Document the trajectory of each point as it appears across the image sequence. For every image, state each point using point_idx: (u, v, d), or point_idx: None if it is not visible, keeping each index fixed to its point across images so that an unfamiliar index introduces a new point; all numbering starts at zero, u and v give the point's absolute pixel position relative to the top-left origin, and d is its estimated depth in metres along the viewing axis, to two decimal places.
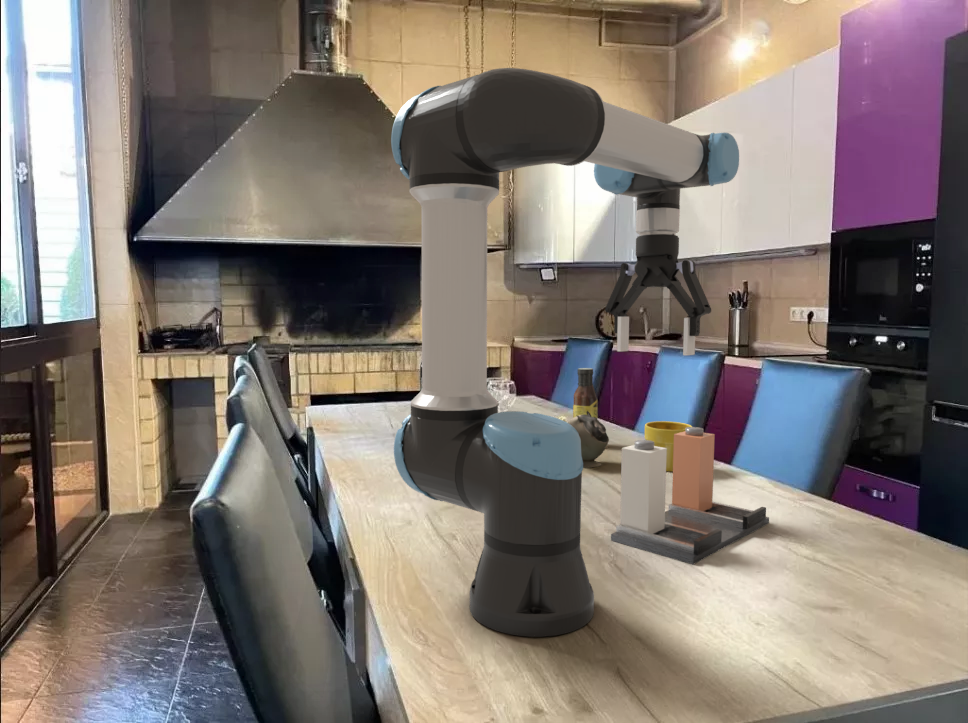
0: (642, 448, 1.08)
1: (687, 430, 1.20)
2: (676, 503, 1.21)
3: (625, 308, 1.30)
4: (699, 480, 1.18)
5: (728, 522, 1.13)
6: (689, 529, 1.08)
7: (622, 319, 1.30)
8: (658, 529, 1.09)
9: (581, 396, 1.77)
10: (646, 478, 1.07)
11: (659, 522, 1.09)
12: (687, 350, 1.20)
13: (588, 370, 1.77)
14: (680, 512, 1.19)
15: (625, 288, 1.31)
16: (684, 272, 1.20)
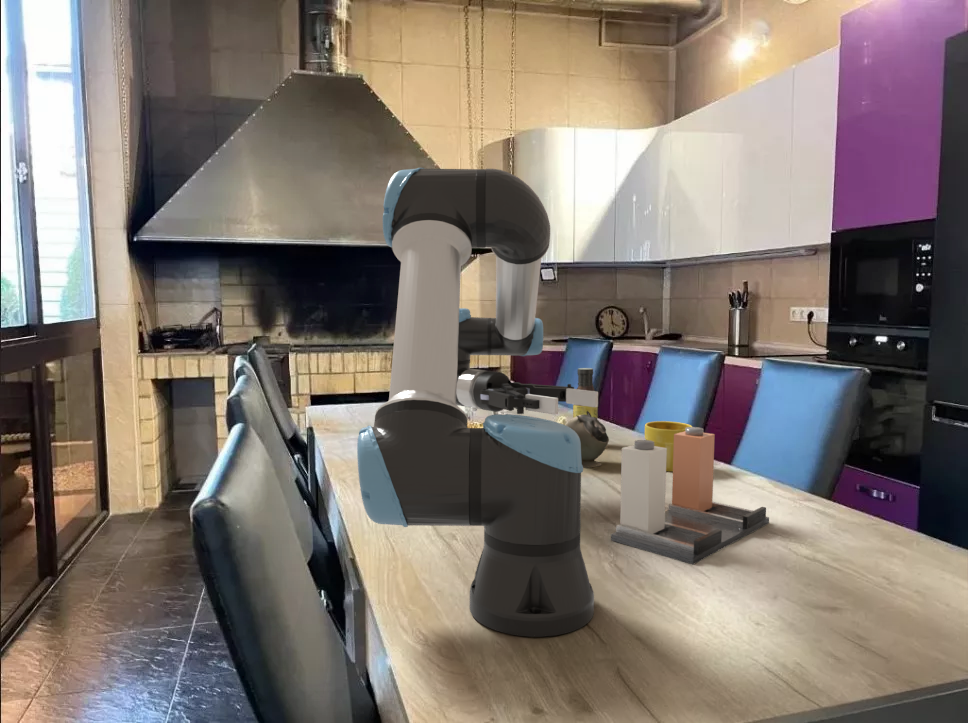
0: (642, 448, 1.08)
1: (687, 430, 1.20)
2: (676, 503, 1.21)
3: None
4: (699, 480, 1.18)
5: (728, 522, 1.13)
6: (689, 529, 1.08)
7: None
8: (658, 529, 1.09)
9: None
10: (646, 478, 1.07)
11: (659, 522, 1.09)
12: None
13: (588, 370, 1.77)
14: (680, 512, 1.19)
15: None
16: (534, 385, 1.33)
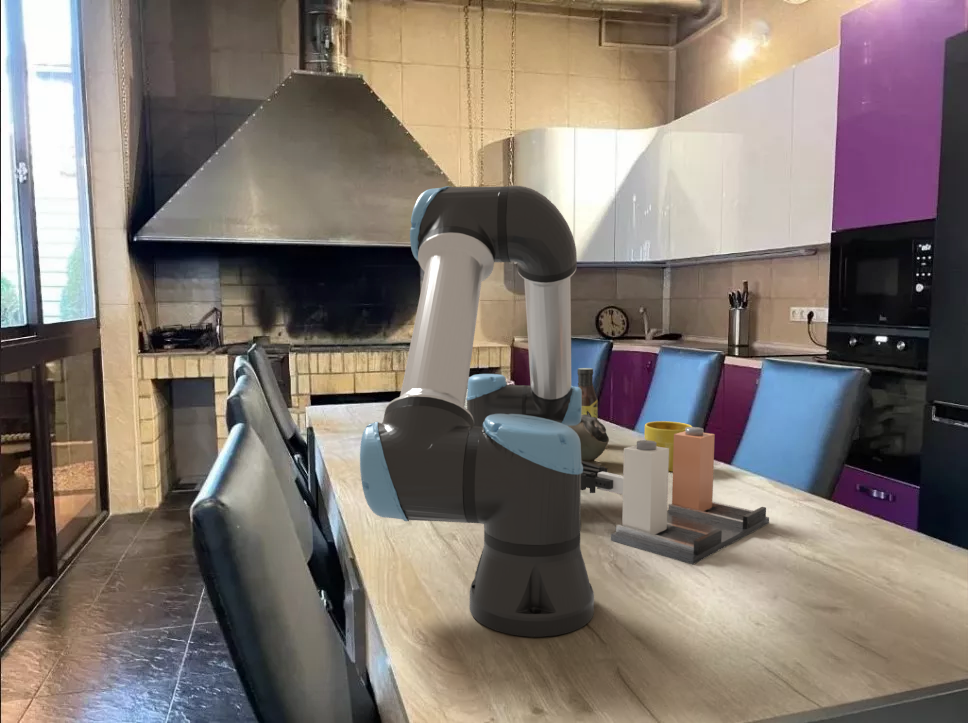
0: (644, 448, 1.08)
1: (687, 430, 1.20)
2: (676, 503, 1.21)
3: None
4: (699, 480, 1.18)
5: (728, 522, 1.13)
6: (689, 529, 1.08)
7: None
8: (660, 530, 1.09)
9: None
10: (648, 479, 1.06)
11: (661, 523, 1.09)
12: None
13: (588, 370, 1.77)
14: (680, 512, 1.19)
15: None
16: None
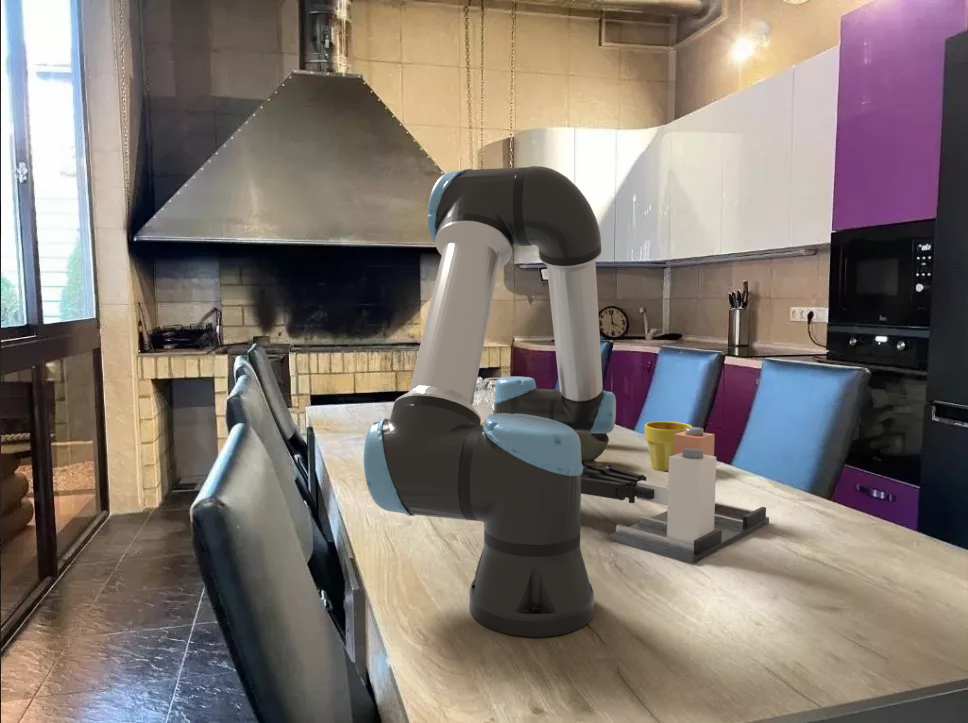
0: (691, 457, 1.02)
1: (687, 430, 1.20)
2: None
3: None
4: None
5: (728, 522, 1.13)
6: None
7: None
8: None
9: None
10: (696, 489, 1.01)
11: None
12: None
13: None
14: None
15: None
16: (611, 467, 1.20)
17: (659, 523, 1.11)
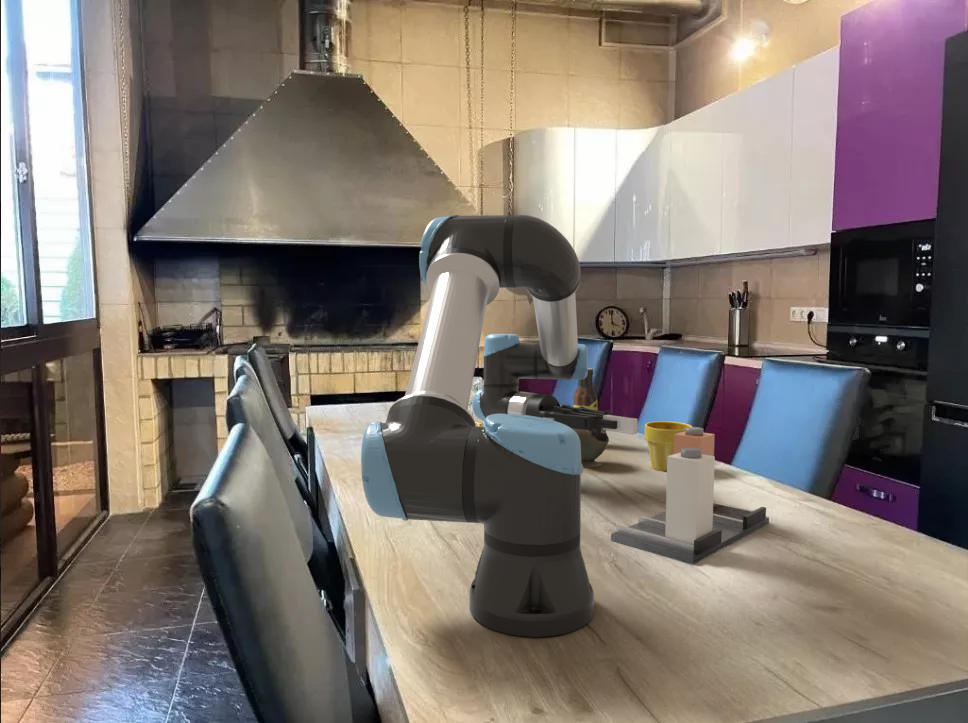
0: (689, 456, 1.02)
1: (687, 430, 1.20)
2: None
3: None
4: None
5: (728, 522, 1.13)
6: None
7: None
8: None
9: (581, 396, 1.77)
10: (694, 489, 1.01)
11: None
12: (633, 419, 1.27)
13: (588, 370, 1.77)
14: None
15: None
16: (583, 408, 1.40)
17: (659, 523, 1.11)
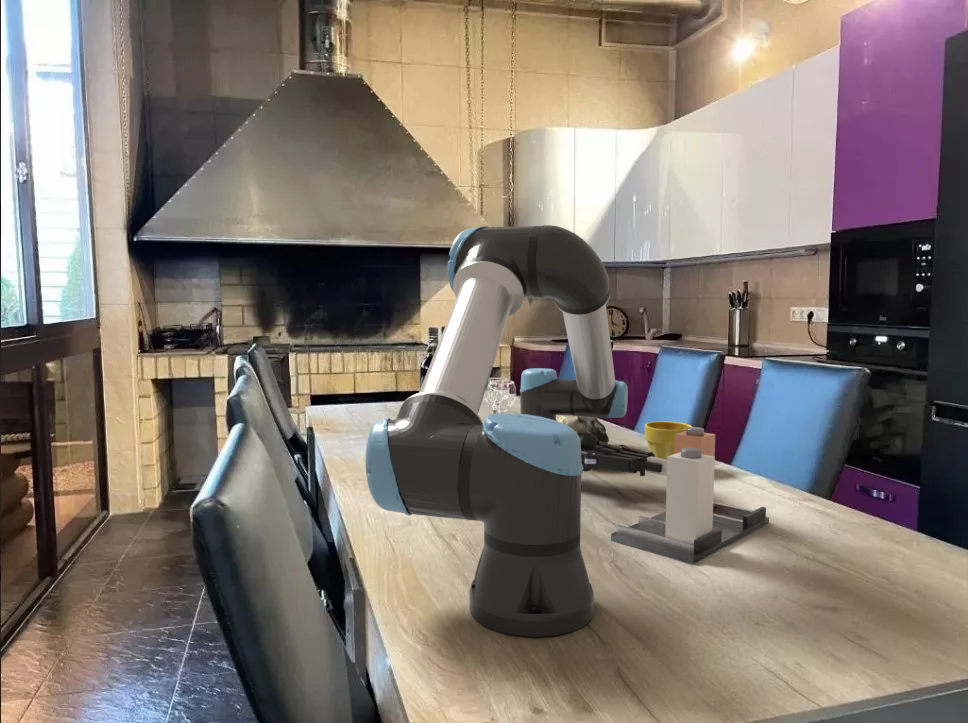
0: (689, 456, 1.02)
1: (688, 430, 1.20)
2: None
3: None
4: None
5: (728, 522, 1.13)
6: None
7: None
8: None
9: None
10: (694, 489, 1.01)
11: None
12: None
13: None
14: None
15: None
16: (624, 447, 1.37)
17: (659, 523, 1.11)
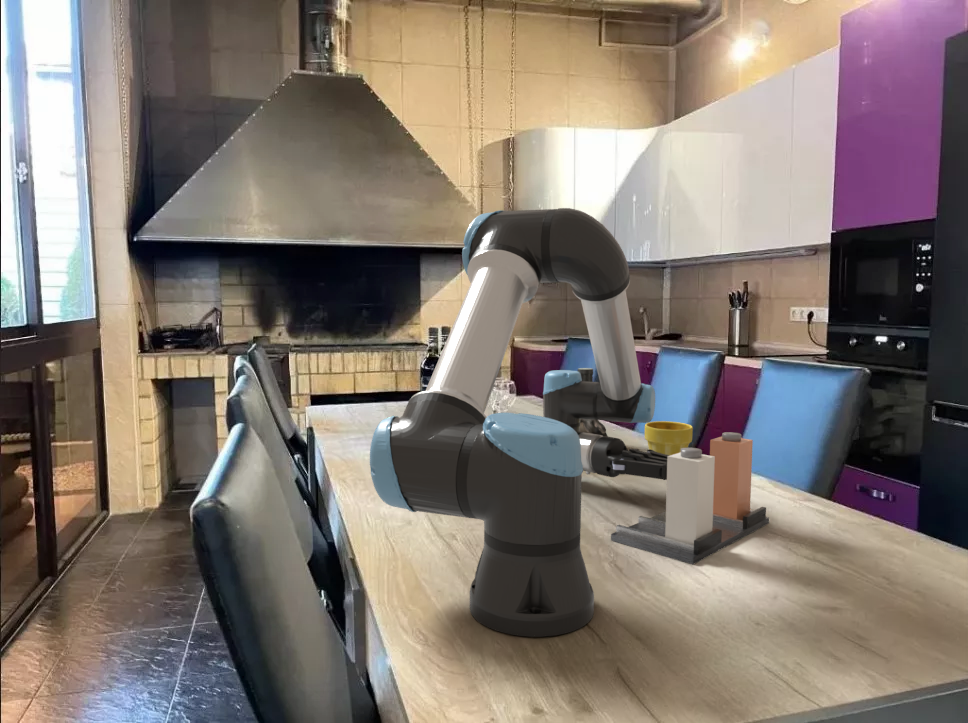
0: (689, 456, 1.02)
1: (724, 436, 1.15)
2: None
3: None
4: (737, 487, 1.13)
5: (728, 522, 1.13)
6: None
7: None
8: None
9: None
10: (694, 489, 1.01)
11: None
12: None
13: (588, 370, 1.77)
14: None
15: None
16: (652, 452, 1.32)
17: (659, 523, 1.11)
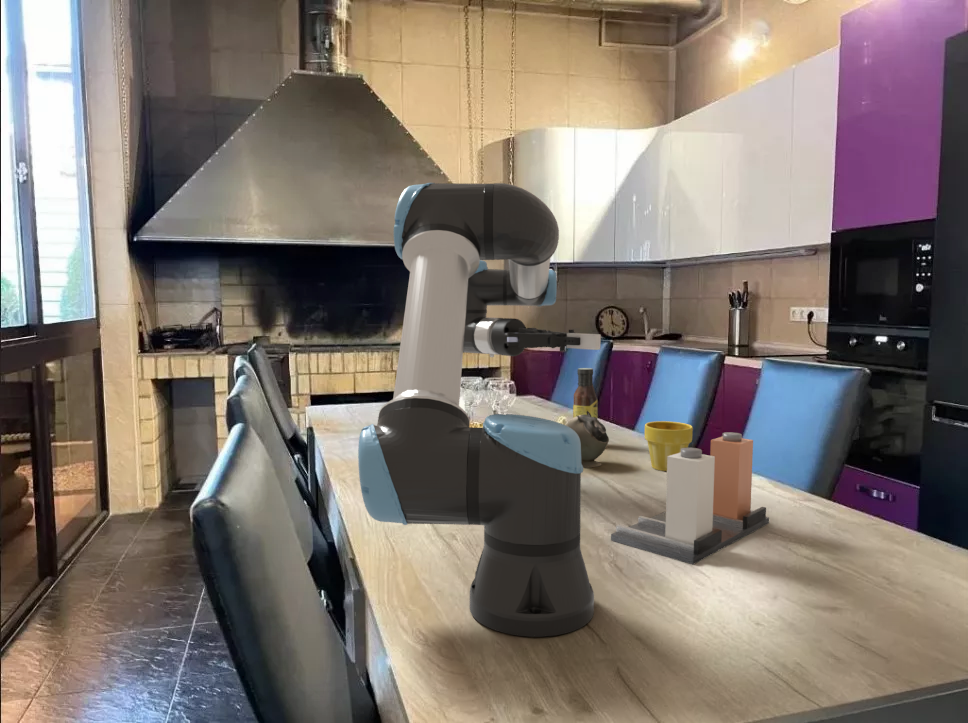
0: (689, 456, 1.02)
1: (725, 436, 1.15)
2: (713, 512, 1.16)
3: None
4: (738, 487, 1.13)
5: (728, 522, 1.13)
6: None
7: None
8: None
9: (581, 396, 1.77)
10: (694, 489, 1.01)
11: None
12: None
13: (588, 370, 1.77)
14: None
15: None
16: (550, 331, 1.38)
17: (659, 523, 1.11)
